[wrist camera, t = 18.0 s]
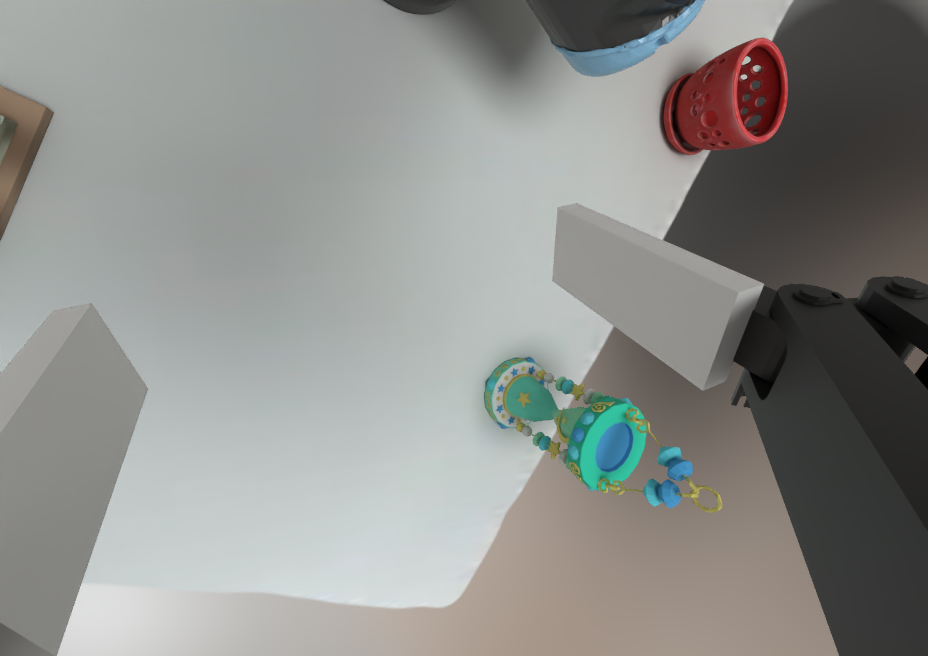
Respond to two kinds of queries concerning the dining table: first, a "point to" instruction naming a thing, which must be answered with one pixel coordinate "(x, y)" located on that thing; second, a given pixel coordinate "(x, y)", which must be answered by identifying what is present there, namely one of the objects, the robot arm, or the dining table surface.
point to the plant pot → (728, 100)
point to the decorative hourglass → (586, 431)
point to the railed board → (18, 146)
